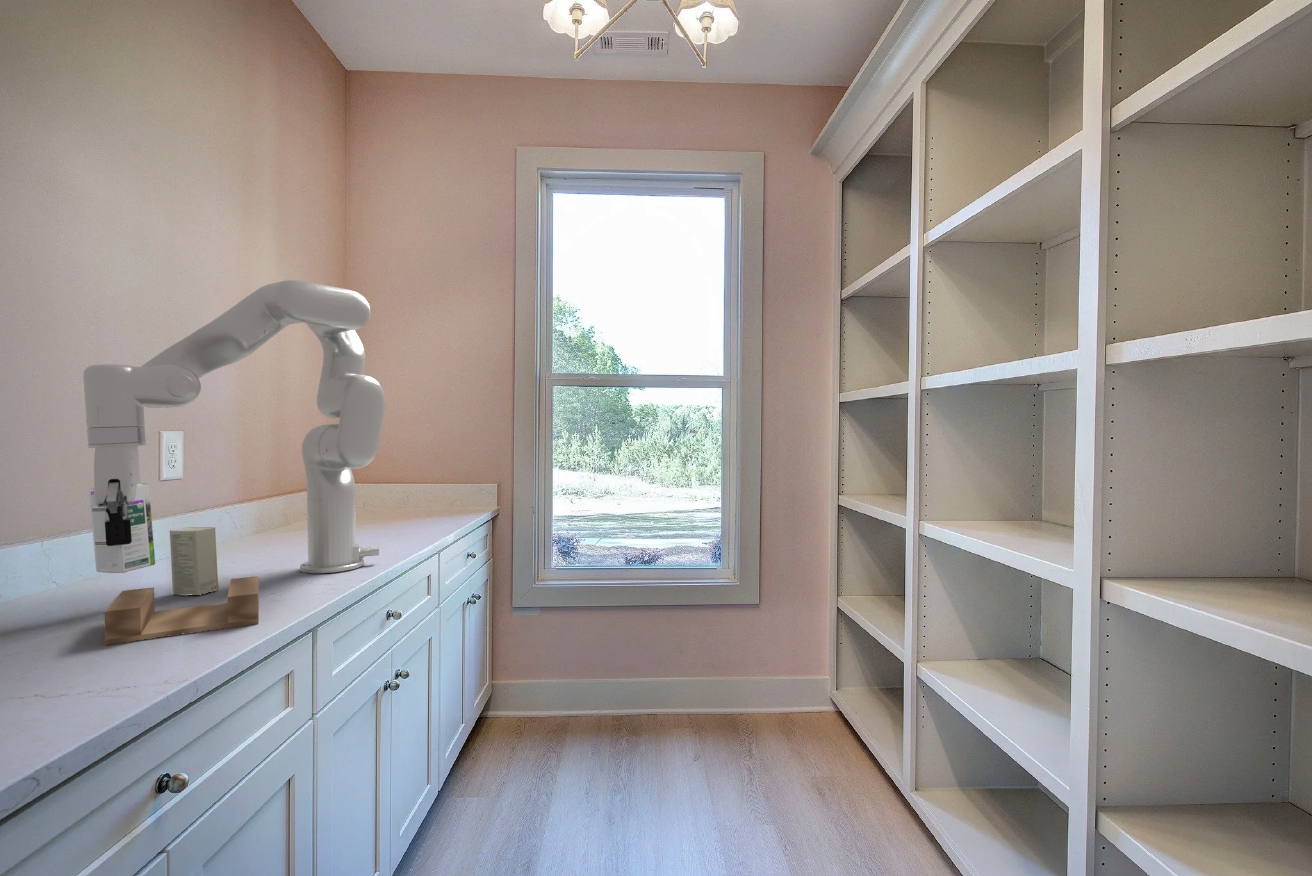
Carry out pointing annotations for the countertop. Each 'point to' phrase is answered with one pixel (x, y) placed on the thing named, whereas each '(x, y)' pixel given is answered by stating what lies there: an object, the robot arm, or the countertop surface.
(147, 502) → the syrup box
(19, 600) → the countertop surface
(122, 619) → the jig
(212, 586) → the skincare box
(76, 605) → the countertop surface
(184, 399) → the robot arm
